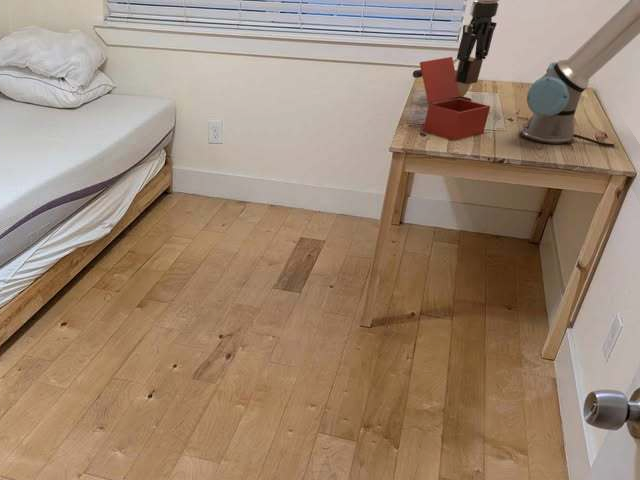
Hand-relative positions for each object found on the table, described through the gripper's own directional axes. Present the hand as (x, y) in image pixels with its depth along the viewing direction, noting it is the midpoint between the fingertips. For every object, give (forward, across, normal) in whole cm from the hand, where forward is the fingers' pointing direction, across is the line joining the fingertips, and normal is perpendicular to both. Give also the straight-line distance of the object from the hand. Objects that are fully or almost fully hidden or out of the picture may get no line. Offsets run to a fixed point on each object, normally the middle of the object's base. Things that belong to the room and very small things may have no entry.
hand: (466, 80), depth 223 cm
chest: (+17, 0, 0) cm, 17 cm away
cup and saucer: (+17, -17, -12) cm, 27 cm away
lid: (+1, 0, -10) cm, 10 cm away
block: (0, 0, 0) cm, 0 cm away
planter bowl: (+17, -29, -27) cm, 43 cm away
